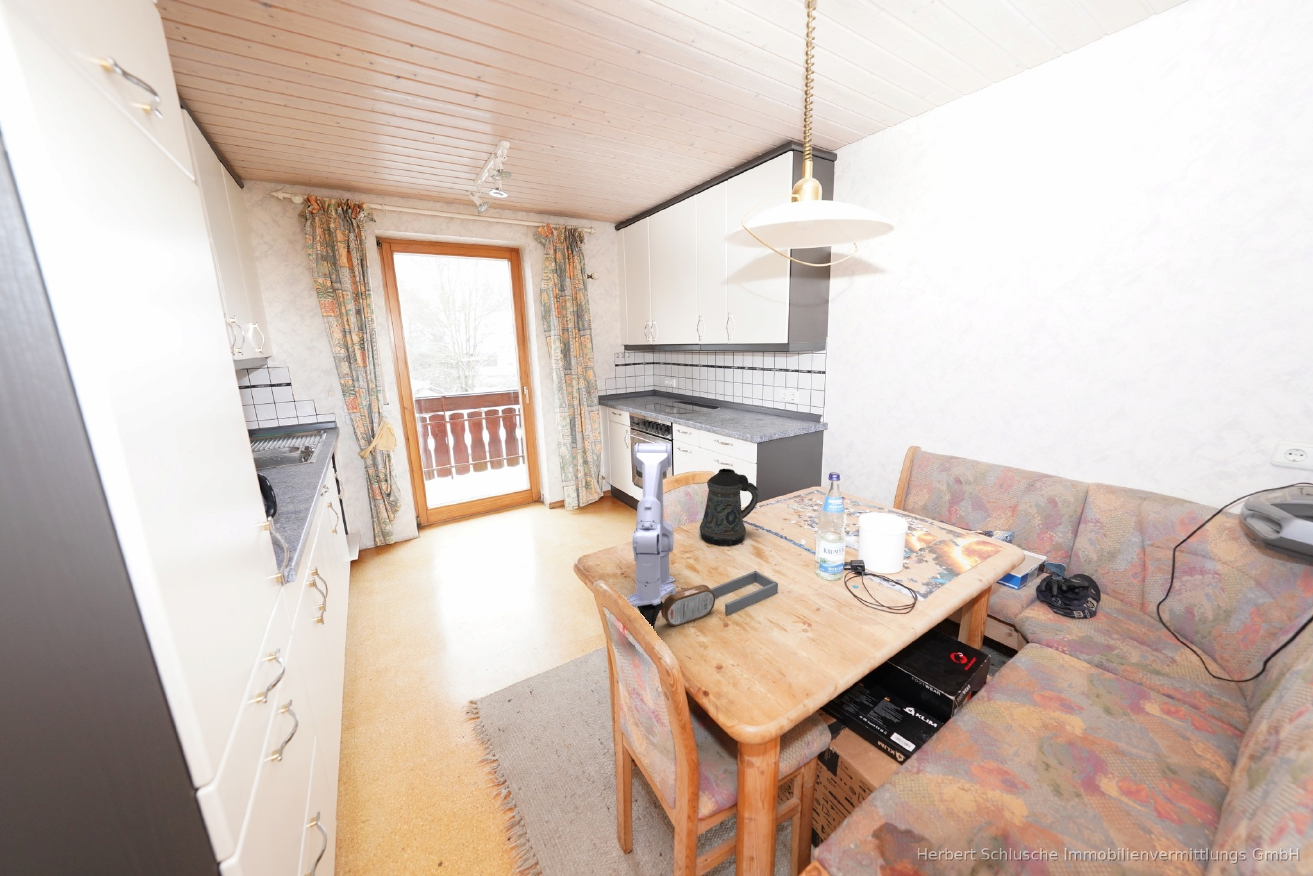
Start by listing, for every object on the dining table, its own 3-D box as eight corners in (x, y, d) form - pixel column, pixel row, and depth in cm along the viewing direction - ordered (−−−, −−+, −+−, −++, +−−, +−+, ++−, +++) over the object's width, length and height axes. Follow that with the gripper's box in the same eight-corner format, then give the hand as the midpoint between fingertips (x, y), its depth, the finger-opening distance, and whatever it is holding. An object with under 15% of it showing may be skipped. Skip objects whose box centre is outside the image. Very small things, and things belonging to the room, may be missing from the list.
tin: (710, 608, 122) (710, 579, 120) (717, 614, 119) (717, 585, 117) (660, 625, 115) (659, 594, 113) (666, 632, 112) (666, 601, 111)
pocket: (705, 600, 125) (706, 590, 125) (755, 579, 135) (755, 570, 135) (727, 615, 118) (727, 605, 118) (777, 592, 128) (778, 583, 128)
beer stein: (692, 531, 170) (692, 466, 165) (739, 523, 176) (741, 461, 170) (710, 550, 155) (711, 479, 149) (761, 541, 160) (764, 473, 155)
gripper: (629, 594, 100) (631, 648, 103) (683, 575, 108) (683, 626, 111) (614, 580, 106) (616, 632, 109) (666, 563, 114) (667, 612, 117)
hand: (649, 628), depth 110 cm, fingers closed
